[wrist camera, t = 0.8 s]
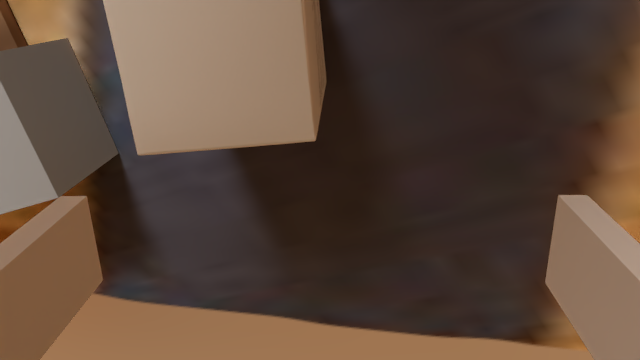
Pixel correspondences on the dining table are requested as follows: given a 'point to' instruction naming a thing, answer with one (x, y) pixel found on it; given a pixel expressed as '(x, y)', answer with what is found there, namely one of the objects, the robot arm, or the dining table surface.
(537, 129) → the dining table surface
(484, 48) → the dining table surface
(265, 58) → the supplement box
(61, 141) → the tunnel
